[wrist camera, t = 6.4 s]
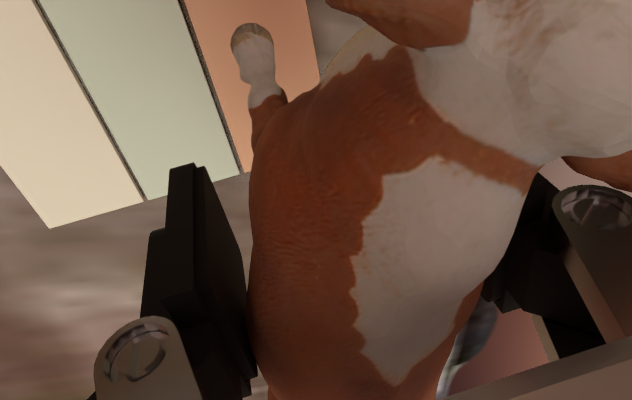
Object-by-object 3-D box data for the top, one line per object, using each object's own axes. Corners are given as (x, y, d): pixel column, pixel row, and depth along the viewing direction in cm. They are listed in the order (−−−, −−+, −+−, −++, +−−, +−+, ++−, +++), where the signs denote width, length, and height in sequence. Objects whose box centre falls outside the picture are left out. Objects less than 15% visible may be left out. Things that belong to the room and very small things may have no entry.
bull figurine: (436, -150, 9) (1099, -227, 2) (345, 300, 16) (448, 563, 10) (217, -186, 8) (397, -502, 1) (228, 315, 15) (263, 622, 9)
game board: (-187, -88, 16) (-195, -88, 16) (268, -191, 17) (269, -193, 17) (51, 224, 26) (49, 228, 26) (331, 144, 27) (332, 147, 27)
